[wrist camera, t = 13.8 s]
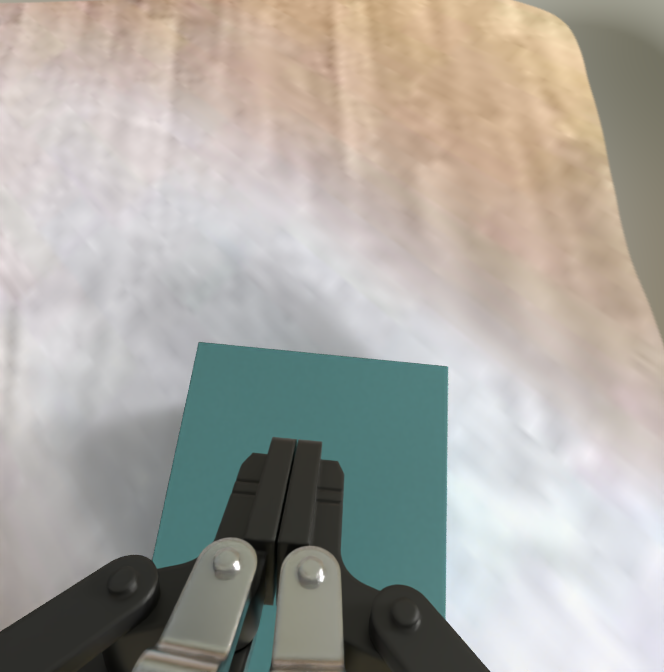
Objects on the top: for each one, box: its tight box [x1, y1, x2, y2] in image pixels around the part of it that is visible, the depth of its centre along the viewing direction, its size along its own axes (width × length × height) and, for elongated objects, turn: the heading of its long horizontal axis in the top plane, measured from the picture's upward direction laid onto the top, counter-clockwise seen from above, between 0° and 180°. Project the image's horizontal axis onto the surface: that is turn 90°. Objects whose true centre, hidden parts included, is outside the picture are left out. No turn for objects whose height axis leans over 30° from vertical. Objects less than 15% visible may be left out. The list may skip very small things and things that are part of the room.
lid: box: [152, 342, 448, 672], centre depth 23 cm, size 17×15×1 cm
